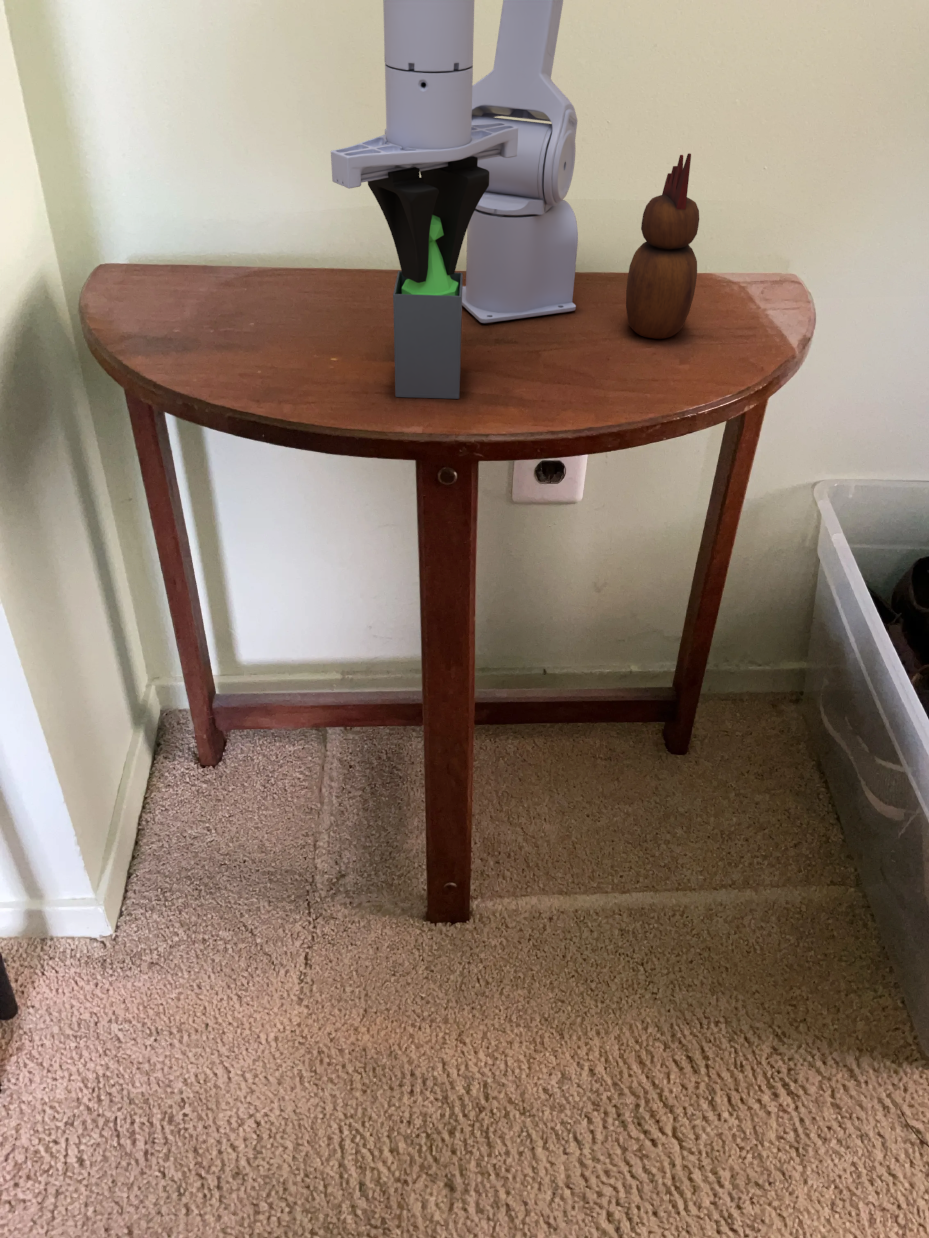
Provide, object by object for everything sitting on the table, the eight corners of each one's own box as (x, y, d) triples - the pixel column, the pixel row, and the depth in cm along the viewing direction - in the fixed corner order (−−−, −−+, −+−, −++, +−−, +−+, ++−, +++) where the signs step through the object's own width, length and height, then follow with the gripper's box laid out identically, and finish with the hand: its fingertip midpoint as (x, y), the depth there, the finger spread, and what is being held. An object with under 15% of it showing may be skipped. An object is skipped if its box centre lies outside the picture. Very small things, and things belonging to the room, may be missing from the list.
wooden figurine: (686, 350, 84) (718, 161, 75) (618, 342, 85) (642, 155, 76) (688, 320, 89) (718, 140, 80) (624, 313, 90) (647, 135, 81)
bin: (460, 371, 80) (462, 272, 75) (459, 399, 76) (461, 296, 71) (399, 370, 80) (397, 270, 75) (395, 397, 76) (393, 294, 71)
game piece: (465, 303, 72) (465, 219, 68) (407, 309, 72) (404, 225, 68) (452, 282, 76) (451, 200, 72) (396, 287, 75) (392, 205, 71)
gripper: (475, 45, 70) (470, 241, 78) (299, 65, 63) (315, 279, 71) (543, 61, 66) (530, 266, 74) (363, 85, 58) (371, 309, 67)
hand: (428, 274), depth 72 cm, fingers closed on game piece, 2 cm apart
